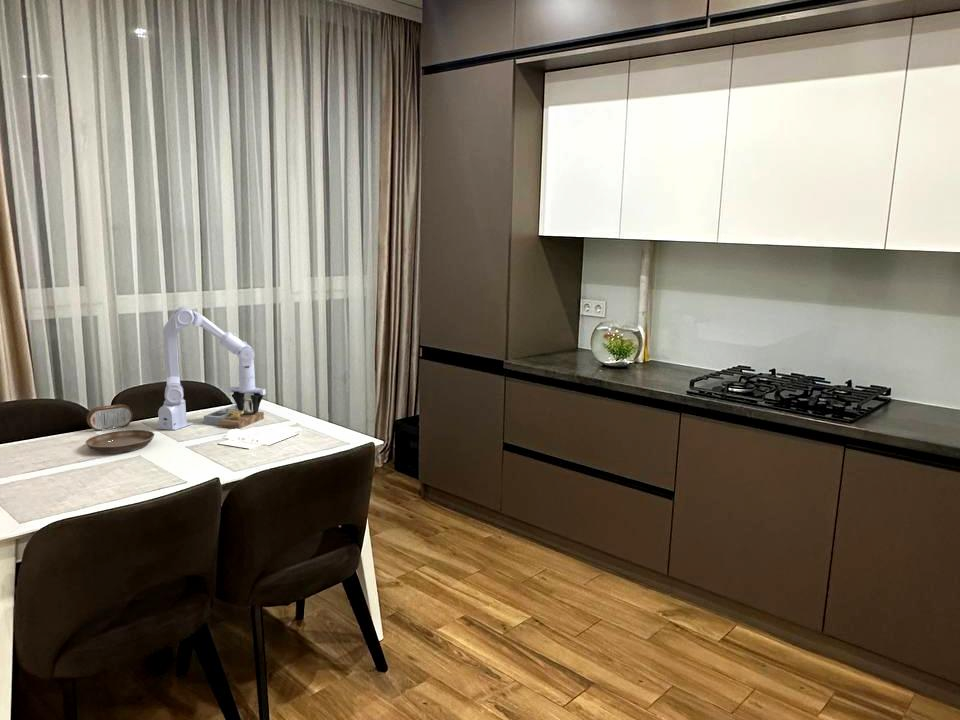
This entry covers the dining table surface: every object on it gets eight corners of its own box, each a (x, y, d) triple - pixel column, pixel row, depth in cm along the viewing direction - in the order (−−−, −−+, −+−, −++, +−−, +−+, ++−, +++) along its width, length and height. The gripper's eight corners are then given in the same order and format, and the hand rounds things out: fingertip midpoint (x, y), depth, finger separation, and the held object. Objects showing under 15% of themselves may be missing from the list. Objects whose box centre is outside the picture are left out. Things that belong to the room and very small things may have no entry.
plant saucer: (72, 450, 239) (71, 440, 238) (128, 435, 257) (127, 426, 256) (113, 459, 229) (112, 449, 229) (168, 443, 247) (167, 434, 247)
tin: (132, 424, 271) (130, 402, 269) (134, 426, 268) (132, 403, 267) (87, 430, 261) (85, 408, 260) (89, 432, 259) (87, 409, 257)
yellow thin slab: (242, 424, 269) (241, 411, 268) (228, 423, 271) (227, 410, 270) (244, 423, 270) (243, 410, 269) (230, 422, 272) (229, 409, 271)
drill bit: (250, 421, 276) (249, 400, 275) (242, 420, 277) (241, 400, 276) (254, 419, 279) (254, 399, 278) (247, 418, 280) (246, 398, 279)
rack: (220, 425, 270) (219, 417, 270) (204, 423, 272) (203, 415, 272) (251, 412, 289) (251, 405, 289) (236, 411, 291) (235, 404, 291)
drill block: (239, 428, 266) (238, 422, 265) (220, 427, 268) (219, 420, 267) (263, 418, 281) (263, 412, 280) (245, 416, 283) (245, 410, 283)
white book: (309, 431, 265) (309, 422, 264) (257, 455, 240) (256, 444, 239) (264, 425, 273) (264, 416, 272) (209, 448, 248) (209, 437, 247)
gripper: (269, 376, 277) (271, 410, 279) (236, 373, 281) (238, 408, 283) (258, 379, 270) (260, 415, 273) (225, 377, 274) (227, 412, 277)
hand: (248, 411), depth 278 cm, fingers open, 6 cm apart
